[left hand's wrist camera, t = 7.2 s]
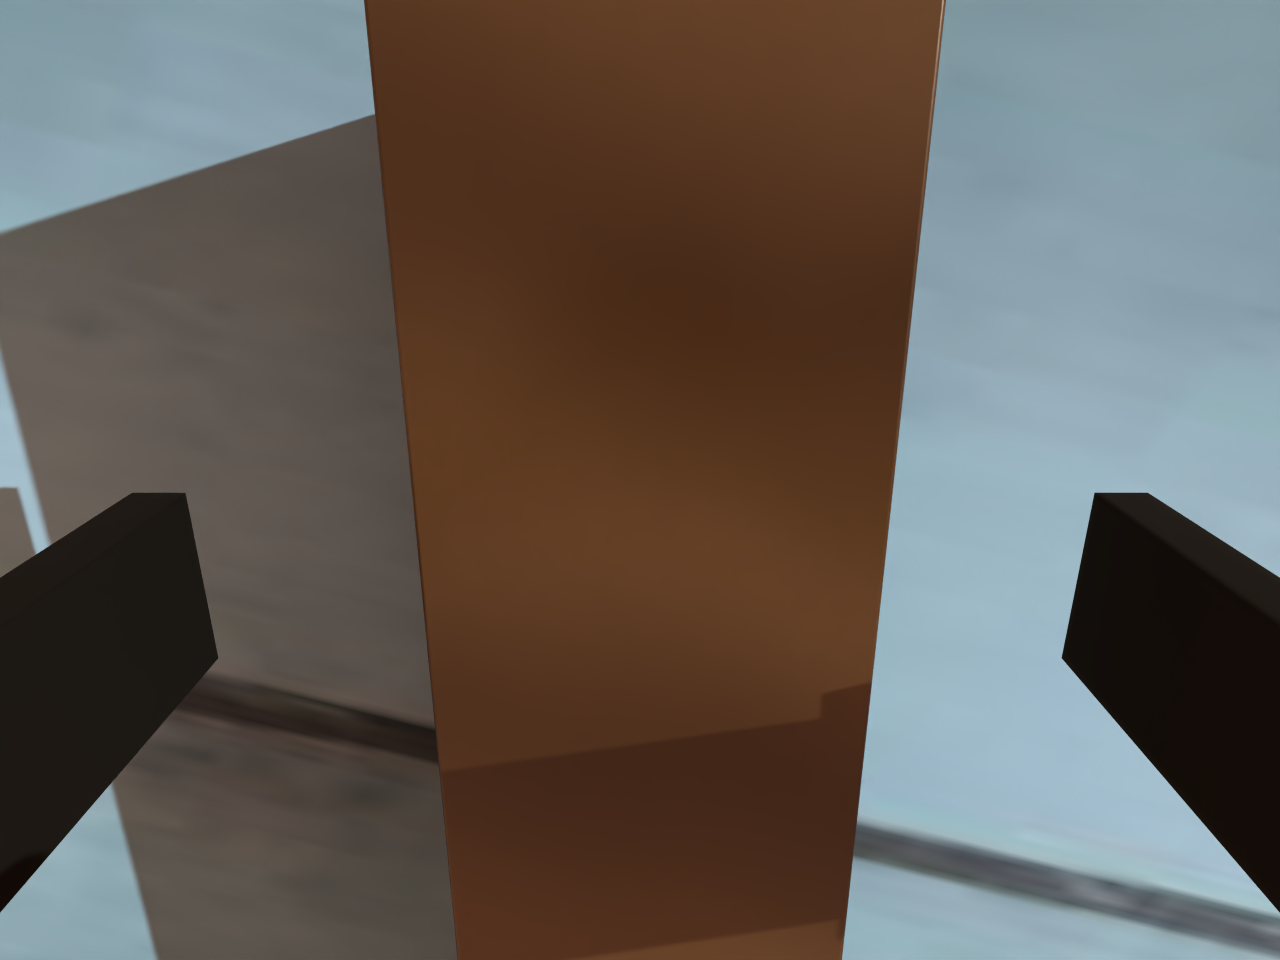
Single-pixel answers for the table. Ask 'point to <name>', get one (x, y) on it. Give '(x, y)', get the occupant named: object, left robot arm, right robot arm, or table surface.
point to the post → (652, 447)
